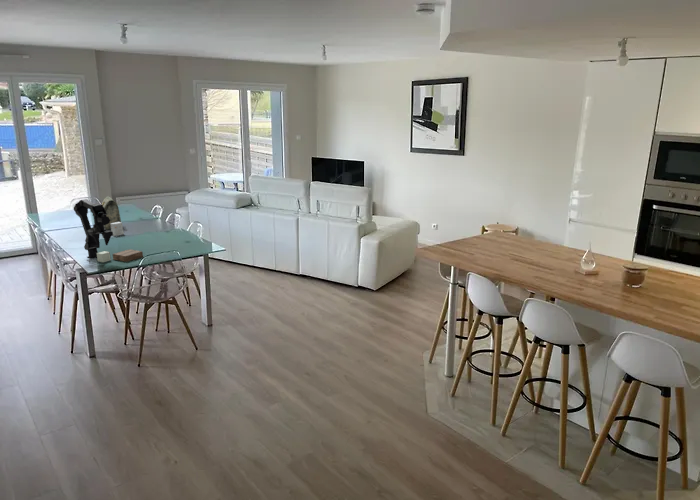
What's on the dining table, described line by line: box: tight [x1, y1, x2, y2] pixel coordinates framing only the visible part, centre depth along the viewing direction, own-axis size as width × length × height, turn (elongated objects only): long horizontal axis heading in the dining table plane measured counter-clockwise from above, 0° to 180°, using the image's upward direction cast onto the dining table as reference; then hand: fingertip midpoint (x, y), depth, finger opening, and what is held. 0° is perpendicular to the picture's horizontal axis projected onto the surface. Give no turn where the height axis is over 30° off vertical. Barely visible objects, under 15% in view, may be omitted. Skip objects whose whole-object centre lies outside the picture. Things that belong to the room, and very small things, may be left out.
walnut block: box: [112, 248, 144, 263], centre depth 363 cm, size 14×14×4 cm
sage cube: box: [96, 250, 112, 263], centre depth 357 cm, size 6×6×6 cm
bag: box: [101, 195, 122, 230], centre depth 463 cm, size 22×16×27 cm
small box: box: [110, 221, 125, 237], centre depth 434 cm, size 8×6×10 cm
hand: (102, 244), depth 355 cm, fingers open, 9 cm apart
